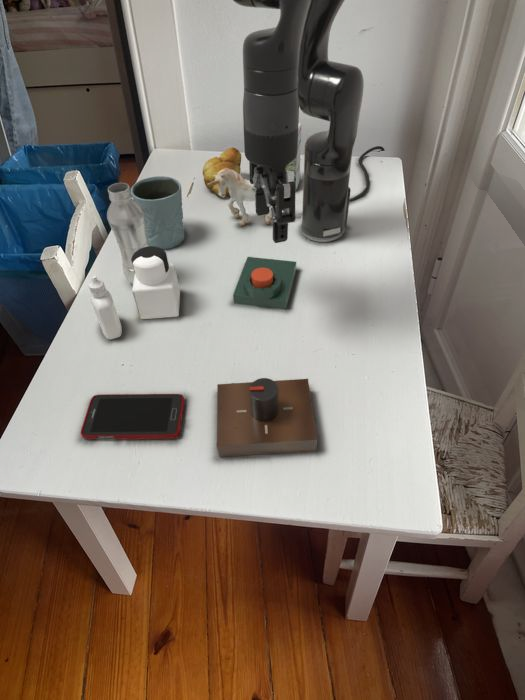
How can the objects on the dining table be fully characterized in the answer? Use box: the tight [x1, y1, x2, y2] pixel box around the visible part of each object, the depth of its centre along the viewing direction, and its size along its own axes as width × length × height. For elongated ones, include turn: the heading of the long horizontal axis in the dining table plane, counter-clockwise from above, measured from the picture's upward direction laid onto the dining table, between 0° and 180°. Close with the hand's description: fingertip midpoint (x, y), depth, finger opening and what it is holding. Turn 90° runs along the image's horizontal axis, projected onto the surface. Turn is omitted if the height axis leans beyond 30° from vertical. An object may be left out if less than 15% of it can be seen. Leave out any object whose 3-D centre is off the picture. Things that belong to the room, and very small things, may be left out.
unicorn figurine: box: [208, 168, 284, 227], centre depth 106 cm, size 7×20×13 cm, turn 113°
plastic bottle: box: [106, 182, 149, 285], centre depth 90 cm, size 6×7×20 cm
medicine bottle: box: [131, 246, 181, 320], centre depth 87 cm, size 7×7×12 cm
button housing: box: [232, 256, 297, 310], centre depth 93 cm, size 12×10×4 cm
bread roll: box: [202, 147, 242, 197], centre depth 119 cm, size 13×10×8 cm
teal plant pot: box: [130, 175, 185, 250], centre depth 103 cm, size 10×10×12 cm
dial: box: [250, 377, 278, 421], centre depth 69 cm, size 4×4×5 cm
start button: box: [251, 268, 273, 288], centre depth 89 cm, size 4×4×2 cm
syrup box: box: [285, 122, 302, 192], centre depth 116 cm, size 6×6×14 cm
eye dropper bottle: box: [88, 275, 123, 340], centre depth 83 cm, size 4×6×12 cm
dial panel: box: [216, 378, 318, 458], centre depth 72 cm, size 14×11×3 cm
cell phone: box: [80, 393, 185, 440], centre depth 74 cm, size 8×15×1 cm, turn 89°
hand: (270, 227), depth 77 cm, fingers open, 8 cm apart
